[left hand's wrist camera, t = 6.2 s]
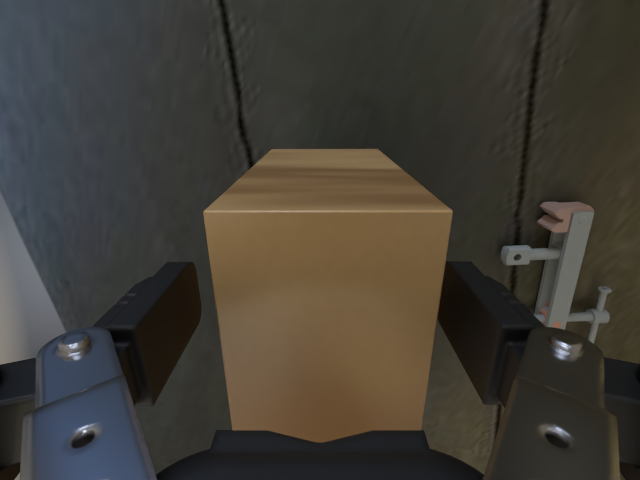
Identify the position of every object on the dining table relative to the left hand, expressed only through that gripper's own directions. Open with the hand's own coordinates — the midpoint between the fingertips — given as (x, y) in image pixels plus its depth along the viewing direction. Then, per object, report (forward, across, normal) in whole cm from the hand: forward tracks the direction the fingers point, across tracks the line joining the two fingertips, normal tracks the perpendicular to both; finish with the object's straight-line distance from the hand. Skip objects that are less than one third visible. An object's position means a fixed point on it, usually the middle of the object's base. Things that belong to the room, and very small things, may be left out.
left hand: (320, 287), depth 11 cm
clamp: (+18, +21, -9) cm, 29 cm away
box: (+10, 0, -9) cm, 13 cm away
